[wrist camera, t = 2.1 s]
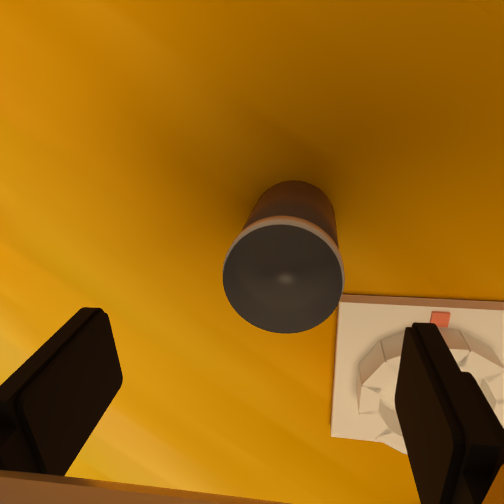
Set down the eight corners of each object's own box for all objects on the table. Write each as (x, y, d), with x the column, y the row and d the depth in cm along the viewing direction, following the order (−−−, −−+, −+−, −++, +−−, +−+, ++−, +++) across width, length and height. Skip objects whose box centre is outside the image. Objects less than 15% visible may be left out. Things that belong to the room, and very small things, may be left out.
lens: (338, 178, 21) (349, 226, 14) (334, 260, 23) (341, 339, 16) (249, 179, 22) (215, 224, 15) (253, 257, 24) (225, 331, 17)
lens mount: (543, 303, 22) (575, 334, 19) (497, 443, 27) (517, 483, 24) (338, 294, 24) (341, 320, 21) (330, 425, 29) (331, 460, 26)
